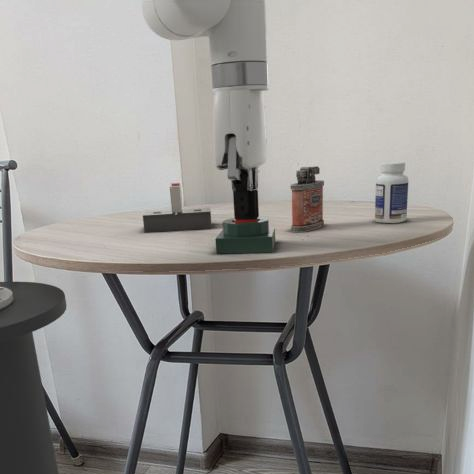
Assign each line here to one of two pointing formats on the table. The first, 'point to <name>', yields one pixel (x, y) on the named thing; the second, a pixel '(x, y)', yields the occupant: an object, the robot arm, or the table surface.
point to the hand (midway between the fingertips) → (246, 218)
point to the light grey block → (176, 197)
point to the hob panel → (177, 220)
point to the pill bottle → (391, 193)
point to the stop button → (245, 220)
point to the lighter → (307, 200)
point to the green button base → (245, 237)
